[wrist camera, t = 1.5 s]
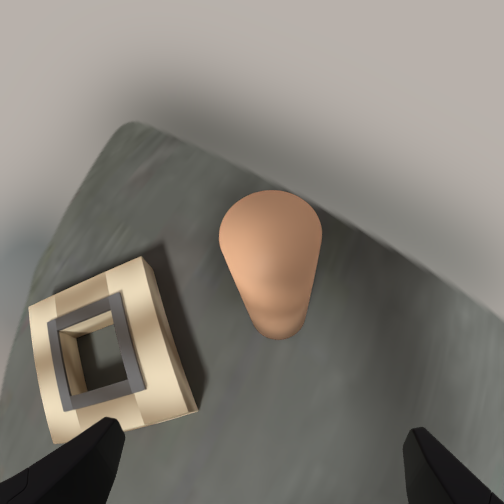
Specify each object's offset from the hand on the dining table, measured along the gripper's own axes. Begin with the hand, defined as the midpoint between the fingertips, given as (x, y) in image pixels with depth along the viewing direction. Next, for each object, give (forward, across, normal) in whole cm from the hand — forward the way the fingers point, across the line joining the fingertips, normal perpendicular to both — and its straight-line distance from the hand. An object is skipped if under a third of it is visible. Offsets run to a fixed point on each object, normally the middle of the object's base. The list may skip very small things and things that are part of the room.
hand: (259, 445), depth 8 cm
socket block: (+12, +13, +7) cm, 19 cm away
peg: (+15, 0, +4) cm, 15 cm away
